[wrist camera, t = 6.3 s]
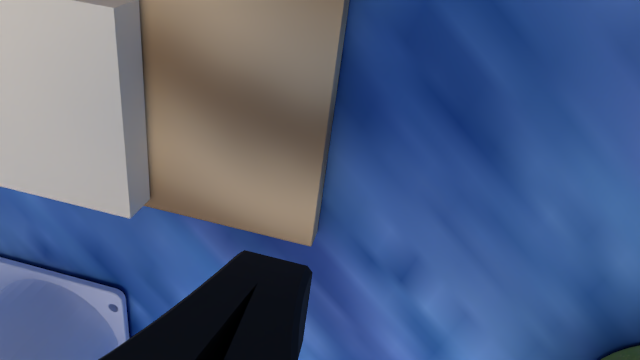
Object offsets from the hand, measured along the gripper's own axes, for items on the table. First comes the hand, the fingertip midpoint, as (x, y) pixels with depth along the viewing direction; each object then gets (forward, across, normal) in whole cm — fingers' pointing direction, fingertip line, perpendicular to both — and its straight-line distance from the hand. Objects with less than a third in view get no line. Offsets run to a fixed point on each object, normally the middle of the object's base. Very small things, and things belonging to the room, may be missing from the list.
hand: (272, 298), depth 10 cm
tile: (+8, +8, +2) cm, 12 cm away
